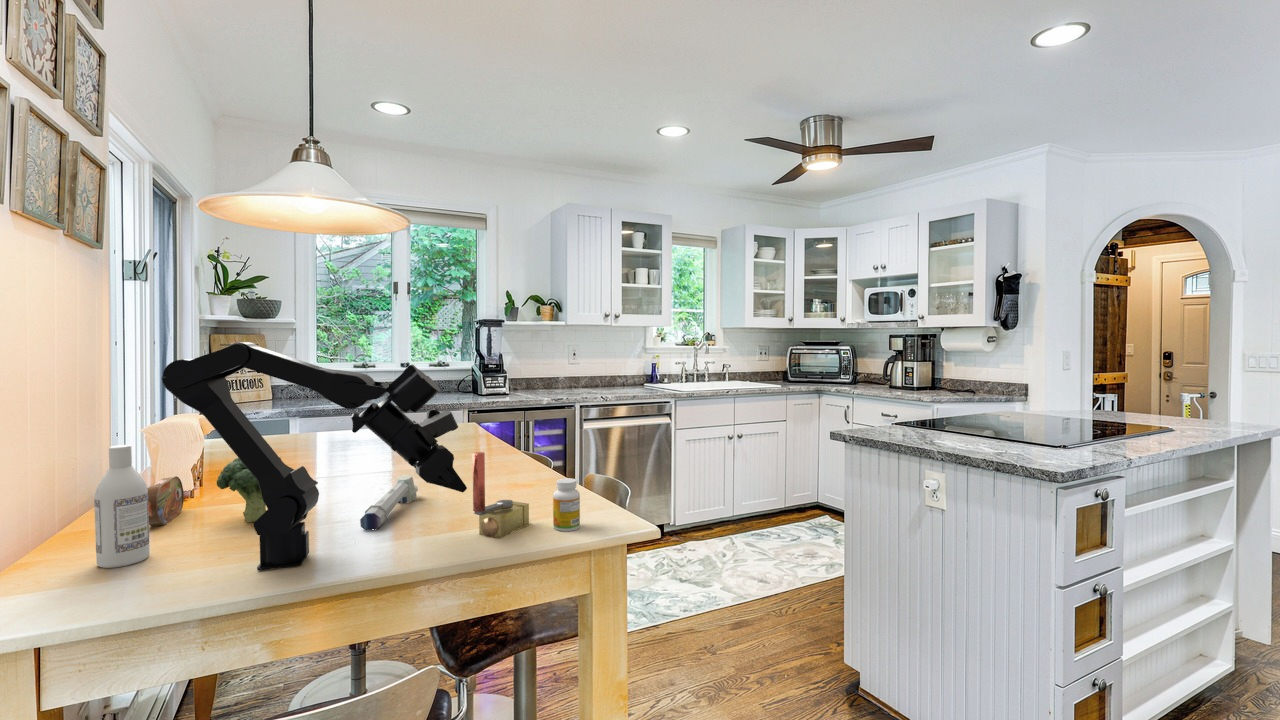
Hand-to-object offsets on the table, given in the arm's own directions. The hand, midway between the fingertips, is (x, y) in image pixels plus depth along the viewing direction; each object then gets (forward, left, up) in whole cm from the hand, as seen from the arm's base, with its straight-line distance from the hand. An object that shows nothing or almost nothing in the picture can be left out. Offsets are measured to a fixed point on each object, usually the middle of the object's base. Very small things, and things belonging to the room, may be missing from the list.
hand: (459, 484), depth 111 cm
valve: (+9, +5, -11) cm, 15 cm away
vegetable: (-40, +29, -11) cm, 51 cm away
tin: (-58, +36, -11) cm, 69 cm away
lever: (+7, +3, -6) cm, 10 cm away
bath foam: (-55, +10, -11) cm, 57 cm away
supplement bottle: (+21, +2, -11) cm, 24 cm away
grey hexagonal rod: (-13, +26, -12) cm, 31 cm away
